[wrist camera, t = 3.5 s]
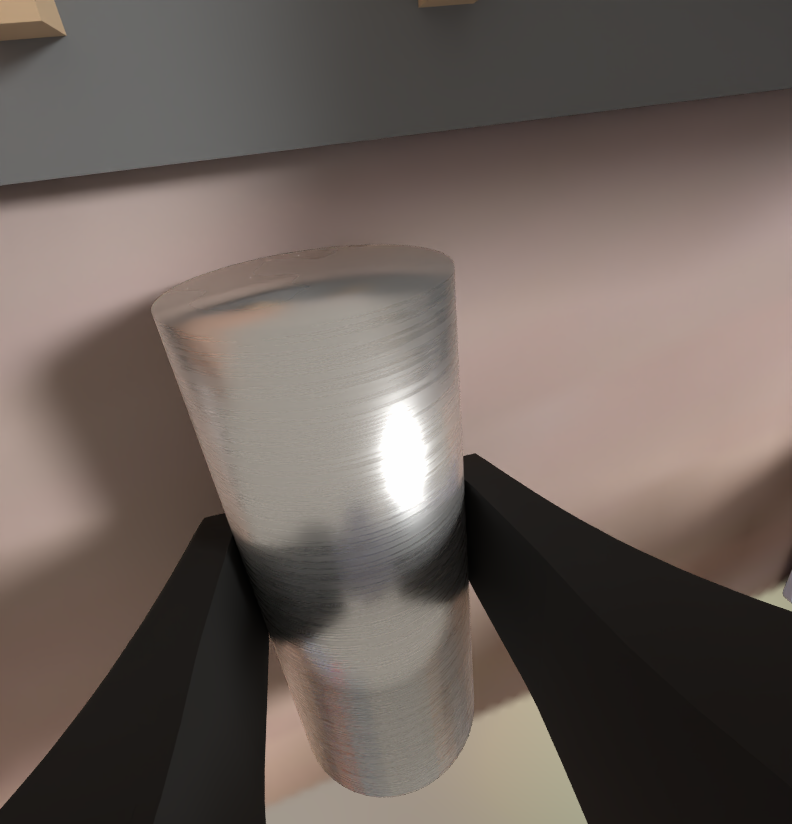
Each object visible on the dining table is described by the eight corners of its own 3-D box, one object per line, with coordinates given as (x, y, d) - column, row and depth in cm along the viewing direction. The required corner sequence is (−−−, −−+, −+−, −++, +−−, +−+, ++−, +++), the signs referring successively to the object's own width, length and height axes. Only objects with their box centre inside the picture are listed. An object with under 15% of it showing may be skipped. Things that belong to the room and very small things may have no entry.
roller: (436, 605, 14) (505, 753, 10) (295, 653, 13) (320, 830, 9) (401, 233, 9) (511, 283, 5) (168, 273, 8) (124, 361, 5)
